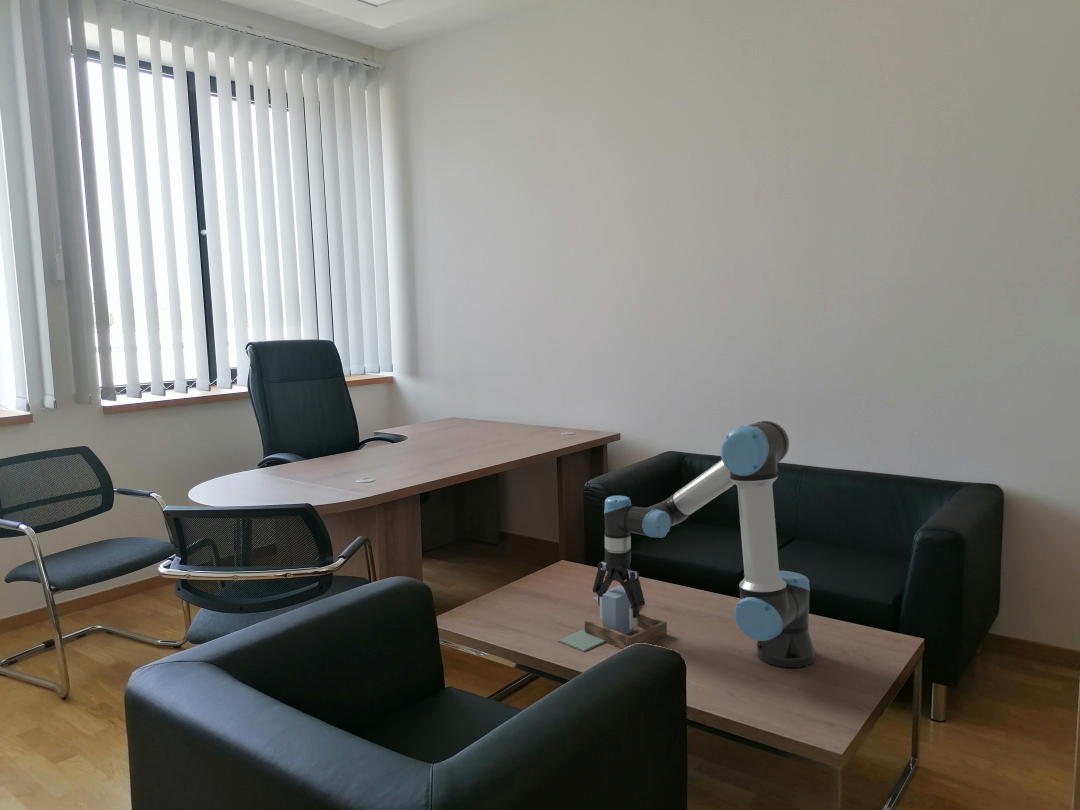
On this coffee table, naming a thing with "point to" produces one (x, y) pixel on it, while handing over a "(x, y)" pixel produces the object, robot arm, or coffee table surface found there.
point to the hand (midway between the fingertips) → (618, 622)
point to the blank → (616, 611)
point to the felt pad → (581, 641)
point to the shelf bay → (651, 633)
